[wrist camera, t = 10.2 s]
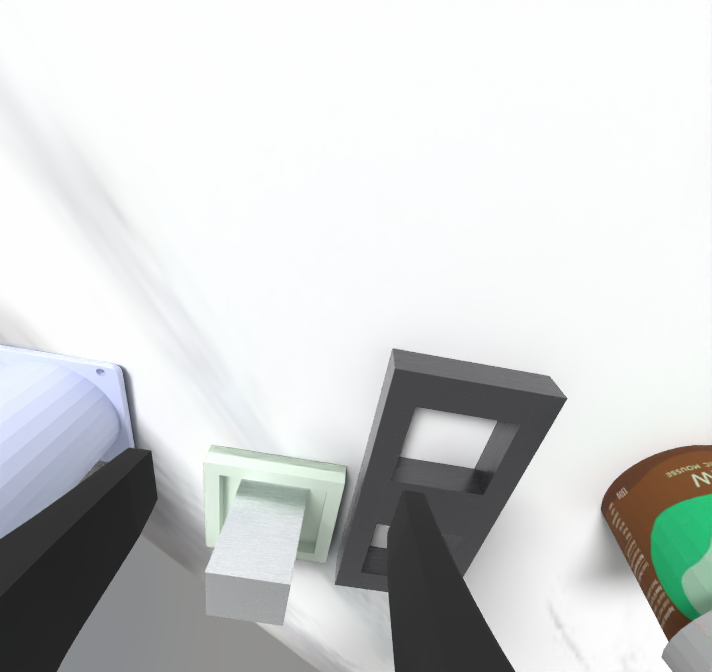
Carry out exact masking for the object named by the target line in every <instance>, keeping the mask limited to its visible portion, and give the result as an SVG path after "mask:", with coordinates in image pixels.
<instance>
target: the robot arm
mask: <svg viewBox="0 0 712 672" xmlns="http://www.w3.org/2000/svg"><path fill="white" fill-rule="evenodd" d="M101 369H102V370H103V371H105V372H103V371H102V370H101ZM98 461H103V462H108V463H107V464H105V465H104V466H103V467H101V468H100V469H99V470H97V471H96V472H95V473H93V474H92V475H91V476H89V477H88V478H86V479H85V480H84V481H82V482H81V483H80V484H78V483H79V482H80V481H81V480H82V479H83V478H84V477H85V475H86V474H87V473H88V472H89V471H90V470H91V469H92V468H93V466H94V465H95V464H96V463H97V462H98ZM77 484H78V485H77ZM157 499H158V498H157V491H156V483H155V476H154V468H153V461H152V453H151V451H149V450H143V449H136V448H135V446H134V440H133V434H132V428H131V422H130V415H129V409H128V403H127V397H126V391H125V385H124V379H123V372H122V370H121V368H120V367H119V366H117V365H115V364H112V363H106V362H100V361H94V360H88V359H82V358H76V357H70V356H64V355H58V354H52V353H46V352H40V351H34V350H28V349H22V348H16V347H10V346H4V345H0V672H57V670H58V668H59V666H60V664H61V662H62V661H63V659H64V657H65V655H66V653H67V652H68V650H69V648H70V647H71V645H72V643H73V641H74V640H75V638H76V636H77V635H78V633H79V631H80V630H81V628H82V627H83V625H84V623H85V622H86V620H87V619H88V617H89V616H90V614H91V612H92V611H93V609H94V608H95V606H96V604H97V603H98V601H99V600H100V598H101V596H102V595H103V593H104V592H105V590H106V589H107V587H108V585H109V584H110V582H111V581H112V579H113V578H114V576H115V574H116V573H117V571H118V570H119V568H120V567H121V565H122V563H123V562H124V560H125V559H126V557H127V555H128V554H129V552H130V551H131V549H132V547H133V546H134V544H135V542H136V541H137V539H138V537H139V536H140V534H141V532H142V530H143V528H144V526H145V524H146V522H147V520H148V518H149V516H150V514H151V512H152V509H153V507H154V505H155V503H156V501H157ZM387 580H388V592H389V605H390V617H391V629H392V641H393V653H394V665H395V672H515V670H514V669H513V667H512V665H511V664H510V662H509V661H508V659H507V657H506V656H505V654H504V652H503V651H502V649H501V647H500V646H499V644H498V642H497V640H496V639H495V637H494V635H493V633H492V632H491V630H490V628H489V626H488V625H487V623H486V621H485V619H484V617H483V616H482V614H481V612H480V610H479V608H478V606H477V605H476V603H475V601H474V599H473V597H472V595H471V593H470V591H469V589H468V587H467V585H466V583H465V581H464V579H463V577H462V575H461V573H460V571H459V569H458V567H457V565H456V563H455V561H454V559H453V557H452V555H451V553H450V551H449V549H448V546H447V544H446V542H445V540H444V537H443V535H442V533H441V531H440V529H439V526H438V524H437V522H436V519H435V517H434V515H433V512H432V510H431V507H430V505H429V502H428V500H427V497H426V496H425V494H424V493H419V492H413V491H406V490H403V492H402V495H401V497H400V500H399V503H398V506H397V508H396V511H395V514H394V517H393V519H392V522H391V525H390V528H389V530H388V536H387Z"/></svg>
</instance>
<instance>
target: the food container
mask: <svg viewBox="0 0 712 672" xmlns="http://www.w3.org/2000/svg"><path fill="white" fill-rule="evenodd" d="M601 511H602V513H603V515H604V517H605V519H606V521H607V523H608V525H609V527H610V529H611V530H612V532H613V534H614V536H615V538H616V540H617V542H618V544H619V546H620V548H621V550H622V552H623V554H624V556H625V558H626V560H627V562H628V564H629V566H630V567H631V569H632V571H633V573H634V575H635V577H636V579H637V581H638V583H639V585H640V587H641V589H642V591H643V593H644V595H645V597H646V599H647V601H648V602H649V604H650V606H651V608H652V610H653V612H654V614H655V616H656V618H657V620H658V622H659V624H660V626H661V628H662V630H663V632H664V634H665V636H666V637H667V639H668V641H669V643H668V644H667V646H666V647H665V649H664V651H663V654H662V658H663V660H664V661H665V662H666V664H667V665H668V666H669V667H670V669H671V670H672V671H673V672H712V445H693V446H685V447H679V448H675V449H671V450H667V451H664V452H661V453H658V454H655V455H653V456H651V457H648V458H646V459H644V460H642V461H640V462H639V463H637V464H635V465H633V466H632V467H630V468H629V469H628V470H626V471H625V472H624V473H622V474H621V475H620V476H619V477H618V478H617V479H616V480H615V481H614V482H613V483H612V485H611V486H610V487H609V488H608V490H607V492H606V494H605V495H604V498H603V501H602V507H601Z"/></svg>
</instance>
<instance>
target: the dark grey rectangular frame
mask: <svg viewBox="0 0 712 672" xmlns="http://www.w3.org/2000/svg"><path fill="white" fill-rule="evenodd" d="M566 400H567V397H566V396H565V395H564V394H563V392H562V391H561V390H560V389H559V387H558V386H557V385H556V384H555V382H554V381H553V380H552V379H551V378H550V376H545V375H540V374H534V373H528V372H523V371H517V370H511V369H506V368H500V367H494V366H489V365H483V364H477V363H472V362H466V361H460V360H455V359H449V358H443V357H438V356H432V355H426V354H421V353H415V352H409V351H404V350H398V349H392V353H391V357H390V360H389V364H388V368H387V372H386V375H385V379H384V383H383V387H382V391H381V394H380V398H379V402H378V406H377V409H376V413H375V417H374V421H373V424H372V428H371V432H370V436H369V439H368V443H367V447H366V451H365V455H364V458H363V462H362V466H361V470H360V473H359V477H358V481H357V485H356V488H355V492H354V496H353V500H352V503H351V507H350V511H349V515H348V519H347V522H346V526H345V530H344V534H343V537H342V541H341V545H340V549H339V552H338V556H337V565H336V577H335V585H341V586H348V587H355V588H362V589H369V590H376V591H384V592H388V580H387V549H383V548H376V547H369V545H370V542H371V539H372V536H373V533H374V530H375V527H376V524H381V525H388V526H390V525H391V522H392V519H393V517H394V514H395V511H396V508H397V506H398V503H399V500H400V497H401V495H402V492H403V490H406V491H413V492H419V493H424V494H425V496H426V497H427V500H428V502H429V505H430V507H431V510H432V512H433V515H434V517H435V519H436V522H437V524H438V526H439V529H440V531H441V533H442V534H443V537H444V540H445V542H446V544H447V546H448V549H449V551H450V553H451V555H452V557H453V559H454V561H455V563H456V565H457V567H458V569H459V571H460V573H461V575H462V577H463V576H464V574H465V573H466V571H467V569H468V568H469V566H470V564H471V562H472V561H473V559H474V557H475V556H476V554H477V552H478V551H479V549H480V547H481V545H482V544H483V542H484V540H485V539H486V537H487V535H488V533H489V532H490V530H491V528H492V527H493V525H494V523H495V521H496V520H497V518H498V516H499V515H500V513H501V511H502V509H503V508H504V506H505V504H506V503H507V501H508V499H509V497H510V496H511V494H512V492H513V491H514V489H515V487H516V485H517V484H518V482H519V480H520V479H521V477H522V475H523V473H524V472H525V470H526V468H527V467H528V465H529V463H530V462H531V460H532V458H533V456H534V455H535V453H536V451H537V450H538V448H539V446H540V444H541V443H542V441H543V439H544V438H545V436H546V434H547V432H548V431H549V429H550V427H551V426H552V424H553V422H554V420H555V419H556V417H557V415H558V414H559V412H560V410H561V408H562V407H563V405H564V403H565V402H566ZM415 407H421V408H427V409H433V410H439V411H445V412H451V413H457V414H463V415H469V416H475V417H481V418H487V419H493V420H498V422H497V424H496V426H495V428H494V430H493V432H492V435H491V437H490V439H489V441H488V443H487V445H486V447H485V449H484V451H483V453H482V455H481V457H480V459H479V461H478V463H477V465H476V467H475V469H471V468H465V467H458V466H452V465H446V464H440V463H433V462H427V461H421V460H415V459H408V458H402V457H399V455H400V452H401V449H402V446H403V443H404V440H405V437H406V433H407V430H408V427H409V424H410V421H411V418H412V415H413V412H414V409H415Z"/></svg>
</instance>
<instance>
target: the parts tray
mask: <svg viewBox="0 0 712 672" xmlns="http://www.w3.org/2000/svg"><path fill="white" fill-rule="evenodd" d="M345 475H346V466H342V465H335V464H329V463H323V462H316V461H310V460H304V459H297V458H291V457H285V456H278V455H272V454H266V453H259V452H253V451H247V450H240V449H234V448H228V447H221V446H215V445H212V446H211V448H210V450H209V451H208V453H207V455H206V457H205V459H204V461H203V477H204V504H205V530H206V546H207V547H214V548H215V545H216V543H217V540H218V538H219V535H220V533H221V530H222V528H223V525H224V523H225V520H226V518H227V515H228V512H229V510H230V507H231V505H232V502H233V500H234V497H235V495H236V492H237V490H238V487H239V485H240V482H241V480H242V479H248V480H255V481H261V482H268V483H274V484H281V485H287V486H294V487H300V488H307V489H308V494H307V499H306V504H305V510H304V515H303V520H302V526H301V531H300V537H299V542H298V547H297V553H296V558H295V559H298V560H305V561H311V562H318V563H325V564H326V559H327V555H328V551H329V547H330V543H331V539H332V535H333V530H334V526H335V522H336V518H337V514H338V510H339V506H340V502H341V497H342V493H343V489H344V485H345Z"/></svg>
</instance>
